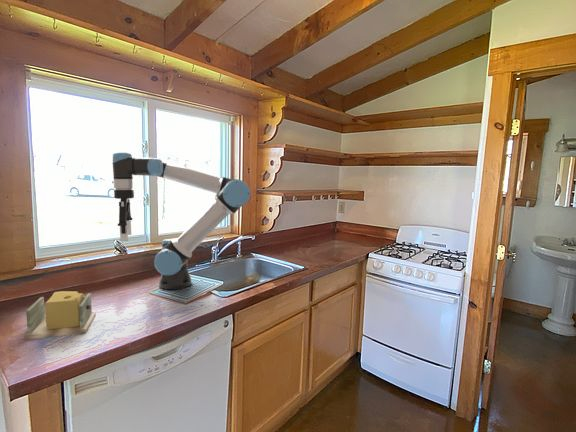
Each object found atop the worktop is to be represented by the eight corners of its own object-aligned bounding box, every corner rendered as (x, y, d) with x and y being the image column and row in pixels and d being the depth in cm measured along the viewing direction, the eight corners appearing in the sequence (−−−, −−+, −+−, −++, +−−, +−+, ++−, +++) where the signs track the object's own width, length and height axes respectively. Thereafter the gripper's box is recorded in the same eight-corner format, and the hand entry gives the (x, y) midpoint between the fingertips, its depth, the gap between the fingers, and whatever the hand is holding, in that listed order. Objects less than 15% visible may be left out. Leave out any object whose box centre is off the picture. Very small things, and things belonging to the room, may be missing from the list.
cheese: (88, 314, 123) (86, 289, 122) (80, 327, 113) (78, 299, 112) (55, 317, 120) (54, 291, 119) (44, 331, 110) (42, 302, 109)
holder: (95, 315, 126) (94, 292, 125) (86, 332, 113) (84, 306, 111) (40, 321, 120) (38, 296, 119) (23, 339, 107) (21, 312, 106)
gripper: (118, 187, 150) (120, 232, 153) (109, 190, 127) (111, 244, 130) (136, 187, 153) (138, 232, 156) (130, 190, 129) (132, 243, 132)
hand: (126, 237), depth 143 cm, fingers open, 13 cm apart
